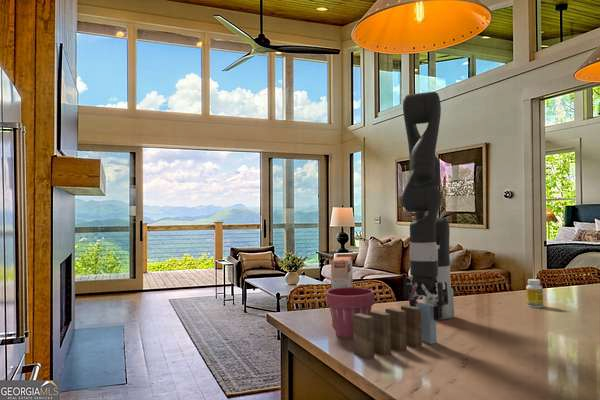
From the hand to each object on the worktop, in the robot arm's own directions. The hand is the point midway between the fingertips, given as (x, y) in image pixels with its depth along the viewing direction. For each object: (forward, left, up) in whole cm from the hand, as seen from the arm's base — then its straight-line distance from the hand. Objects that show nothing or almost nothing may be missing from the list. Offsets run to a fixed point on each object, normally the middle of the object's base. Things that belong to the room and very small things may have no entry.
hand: (425, 317), depth 130 cm
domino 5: (0, 0, -6) cm, 6 cm away
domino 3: (+10, +5, -6) cm, 13 cm away
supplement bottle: (-54, -35, -7) cm, 65 cm away
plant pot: (+18, -11, -7) cm, 23 cm away
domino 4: (+5, +2, -6) cm, 8 cm away
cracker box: (+18, -27, -7) cm, 33 cm away
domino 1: (+20, +9, -6) cm, 23 cm away
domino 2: (+15, +7, -6) cm, 18 cm away
